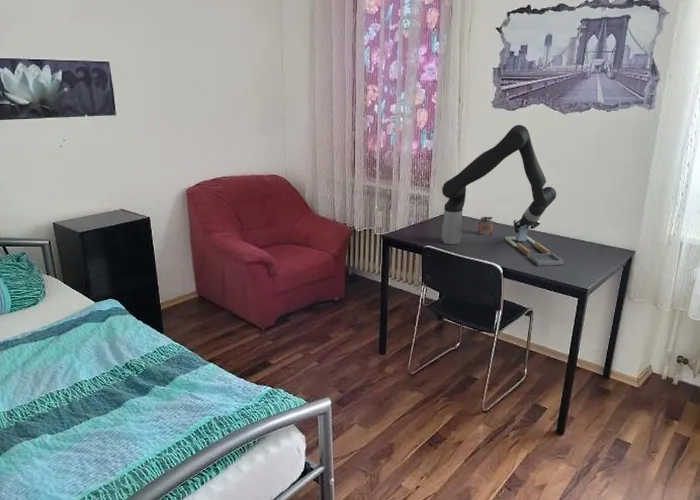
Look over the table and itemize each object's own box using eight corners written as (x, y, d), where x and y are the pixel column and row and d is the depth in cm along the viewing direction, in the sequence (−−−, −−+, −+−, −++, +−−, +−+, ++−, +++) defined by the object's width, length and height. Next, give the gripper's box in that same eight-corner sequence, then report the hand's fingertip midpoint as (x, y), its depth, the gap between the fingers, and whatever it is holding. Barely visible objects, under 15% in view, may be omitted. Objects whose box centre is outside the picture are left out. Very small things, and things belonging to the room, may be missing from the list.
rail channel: (527, 256, 249) (528, 251, 248) (516, 247, 262) (516, 242, 262) (549, 255, 250) (550, 250, 249) (537, 246, 263) (537, 242, 262)
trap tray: (538, 266, 236) (538, 261, 236) (528, 258, 247) (528, 254, 246) (563, 265, 237) (564, 261, 237) (552, 257, 248) (553, 253, 247)
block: (518, 241, 268) (520, 224, 265) (516, 238, 272) (517, 222, 269) (526, 240, 268) (528, 224, 265) (523, 238, 272) (525, 222, 269)
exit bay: (514, 246, 263) (514, 244, 263) (505, 239, 276) (505, 236, 275) (537, 246, 264) (538, 243, 264) (527, 238, 277) (527, 236, 276)
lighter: (478, 235, 283) (479, 217, 280) (476, 233, 286) (478, 216, 283) (493, 235, 283) (494, 217, 280) (491, 233, 286) (492, 215, 283)
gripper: (544, 207, 257) (531, 224, 273) (516, 208, 256) (505, 225, 272) (547, 221, 254) (535, 237, 269) (519, 221, 253) (508, 238, 268)
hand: (520, 231), depth 270 cm, fingers closed on block, 4 cm apart
